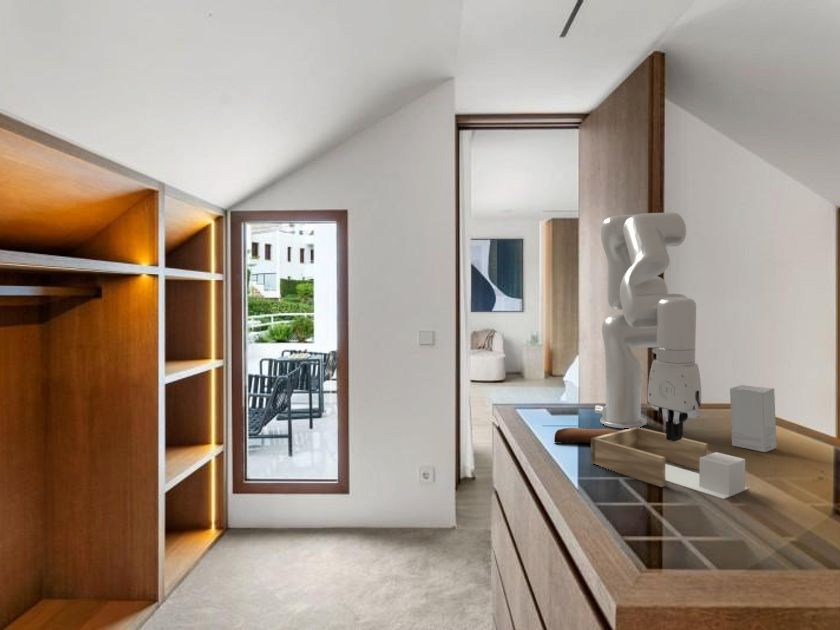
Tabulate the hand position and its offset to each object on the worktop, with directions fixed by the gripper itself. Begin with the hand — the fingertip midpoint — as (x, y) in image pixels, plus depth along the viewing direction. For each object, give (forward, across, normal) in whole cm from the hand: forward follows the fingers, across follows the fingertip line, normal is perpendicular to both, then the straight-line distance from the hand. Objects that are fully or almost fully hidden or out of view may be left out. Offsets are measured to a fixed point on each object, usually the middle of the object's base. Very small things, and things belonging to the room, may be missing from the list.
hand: (674, 439), depth 124 cm
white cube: (+7, +11, 0) cm, 13 cm away
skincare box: (+9, 0, +32) cm, 33 cm away
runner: (+8, +1, -1) cm, 8 cm away
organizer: (+8, -6, -1) cm, 10 cm away
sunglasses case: (+9, -27, +4) cm, 29 cm away
